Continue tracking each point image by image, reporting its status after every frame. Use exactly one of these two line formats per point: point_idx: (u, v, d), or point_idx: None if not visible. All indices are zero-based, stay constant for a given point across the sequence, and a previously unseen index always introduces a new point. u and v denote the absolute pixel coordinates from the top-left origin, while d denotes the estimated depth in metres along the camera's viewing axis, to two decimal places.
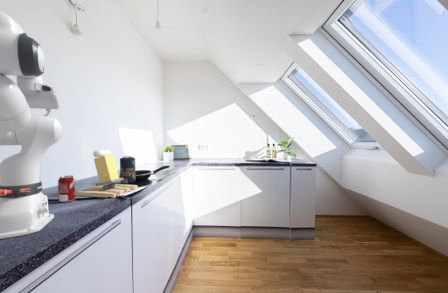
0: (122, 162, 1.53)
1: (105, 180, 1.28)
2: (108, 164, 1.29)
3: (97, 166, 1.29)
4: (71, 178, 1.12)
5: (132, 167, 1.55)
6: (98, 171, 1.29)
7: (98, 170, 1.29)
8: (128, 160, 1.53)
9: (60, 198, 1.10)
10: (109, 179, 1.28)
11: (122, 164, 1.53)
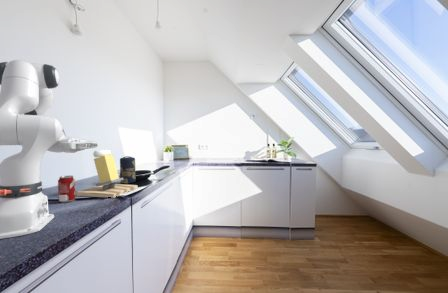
0: (122, 162, 1.53)
1: (105, 180, 1.28)
2: (108, 164, 1.29)
3: (97, 166, 1.29)
4: (71, 178, 1.12)
5: (132, 167, 1.55)
6: (98, 171, 1.29)
7: (98, 170, 1.29)
8: (128, 160, 1.53)
9: (60, 198, 1.10)
10: (109, 179, 1.28)
11: (122, 164, 1.53)
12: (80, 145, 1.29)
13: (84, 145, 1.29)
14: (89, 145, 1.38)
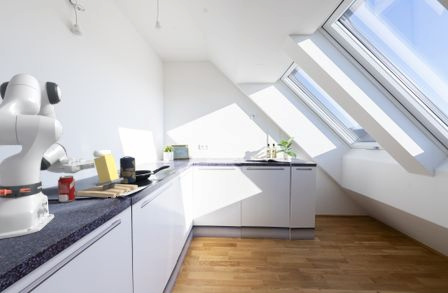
0: (122, 162, 1.53)
1: (105, 180, 1.28)
2: (108, 164, 1.29)
3: (97, 166, 1.29)
4: (71, 178, 1.12)
5: (132, 167, 1.55)
6: (98, 171, 1.29)
7: (98, 170, 1.29)
8: (128, 160, 1.53)
9: (60, 198, 1.10)
10: (109, 179, 1.28)
11: (122, 164, 1.53)
12: (85, 166, 1.32)
13: (89, 166, 1.33)
14: None
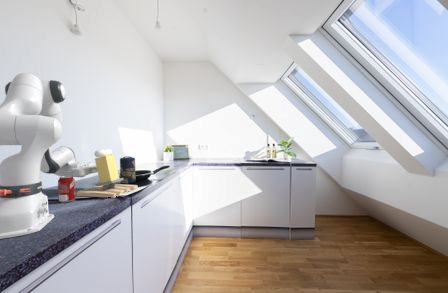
0: (122, 162, 1.53)
1: (105, 180, 1.28)
2: (109, 164, 1.29)
3: (98, 166, 1.29)
4: (71, 178, 1.12)
5: (132, 167, 1.55)
6: (99, 171, 1.29)
7: (98, 170, 1.29)
8: (128, 160, 1.53)
9: (60, 198, 1.10)
10: (109, 179, 1.28)
11: (122, 164, 1.53)
12: (94, 170, 1.31)
13: None
14: None
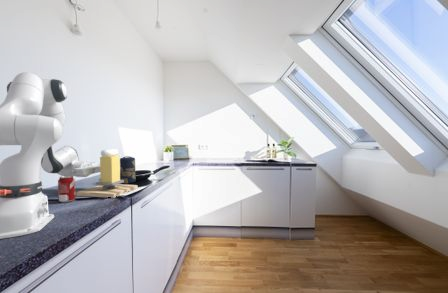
0: (122, 162, 1.53)
1: (106, 180, 1.28)
2: (113, 166, 1.29)
3: (101, 165, 1.29)
4: (71, 178, 1.12)
5: (132, 167, 1.55)
6: (101, 170, 1.29)
7: (101, 169, 1.29)
8: (128, 160, 1.53)
9: (60, 198, 1.10)
10: (110, 181, 1.28)
11: (122, 164, 1.53)
12: (97, 170, 1.31)
13: None
14: None
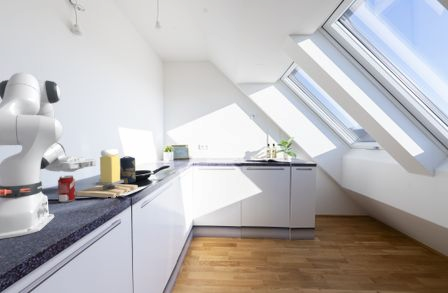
0: (122, 162, 1.53)
1: (106, 180, 1.28)
2: (113, 166, 1.29)
3: (101, 165, 1.29)
4: (71, 178, 1.12)
5: (132, 167, 1.55)
6: (101, 170, 1.29)
7: (101, 169, 1.29)
8: (128, 160, 1.53)
9: (60, 198, 1.10)
10: (110, 181, 1.28)
11: (122, 164, 1.53)
12: (83, 164, 1.32)
13: (87, 164, 1.32)
14: None
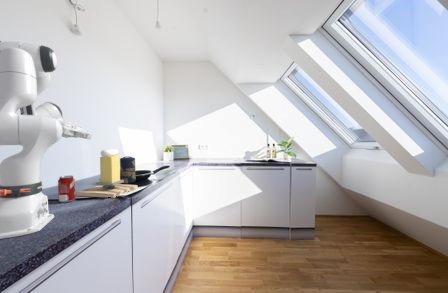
0: (122, 162, 1.53)
1: (106, 180, 1.28)
2: (113, 166, 1.29)
3: (101, 165, 1.29)
4: (71, 178, 1.12)
5: (132, 167, 1.55)
6: (101, 170, 1.29)
7: (101, 169, 1.29)
8: (128, 160, 1.53)
9: (60, 198, 1.10)
10: (110, 181, 1.28)
11: (122, 164, 1.53)
12: (78, 134, 1.27)
13: (82, 135, 1.28)
14: None
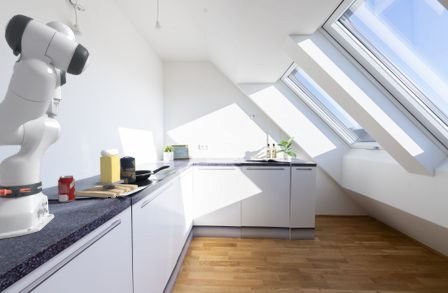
0: (122, 162, 1.53)
1: (106, 180, 1.28)
2: (113, 166, 1.29)
3: (101, 165, 1.29)
4: (71, 178, 1.12)
5: (132, 167, 1.55)
6: (101, 170, 1.29)
7: (101, 169, 1.29)
8: (128, 160, 1.53)
9: (60, 198, 1.10)
10: (110, 181, 1.28)
11: (122, 164, 1.53)
12: (50, 117, 1.13)
13: None
14: None
